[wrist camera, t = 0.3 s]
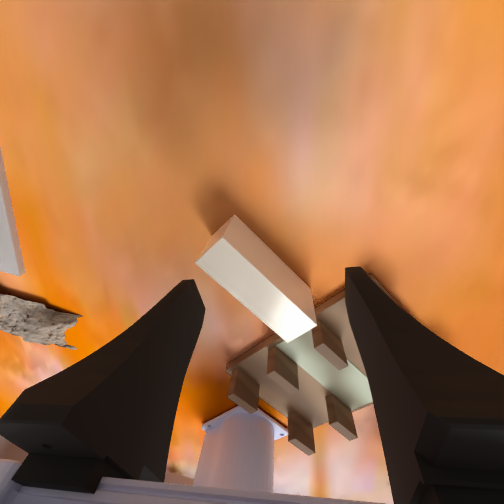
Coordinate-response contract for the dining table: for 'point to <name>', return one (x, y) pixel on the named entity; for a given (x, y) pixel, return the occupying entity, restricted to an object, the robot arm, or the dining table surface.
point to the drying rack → (307, 376)
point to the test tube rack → (8, 231)
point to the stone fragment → (34, 321)
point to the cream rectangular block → (258, 279)
